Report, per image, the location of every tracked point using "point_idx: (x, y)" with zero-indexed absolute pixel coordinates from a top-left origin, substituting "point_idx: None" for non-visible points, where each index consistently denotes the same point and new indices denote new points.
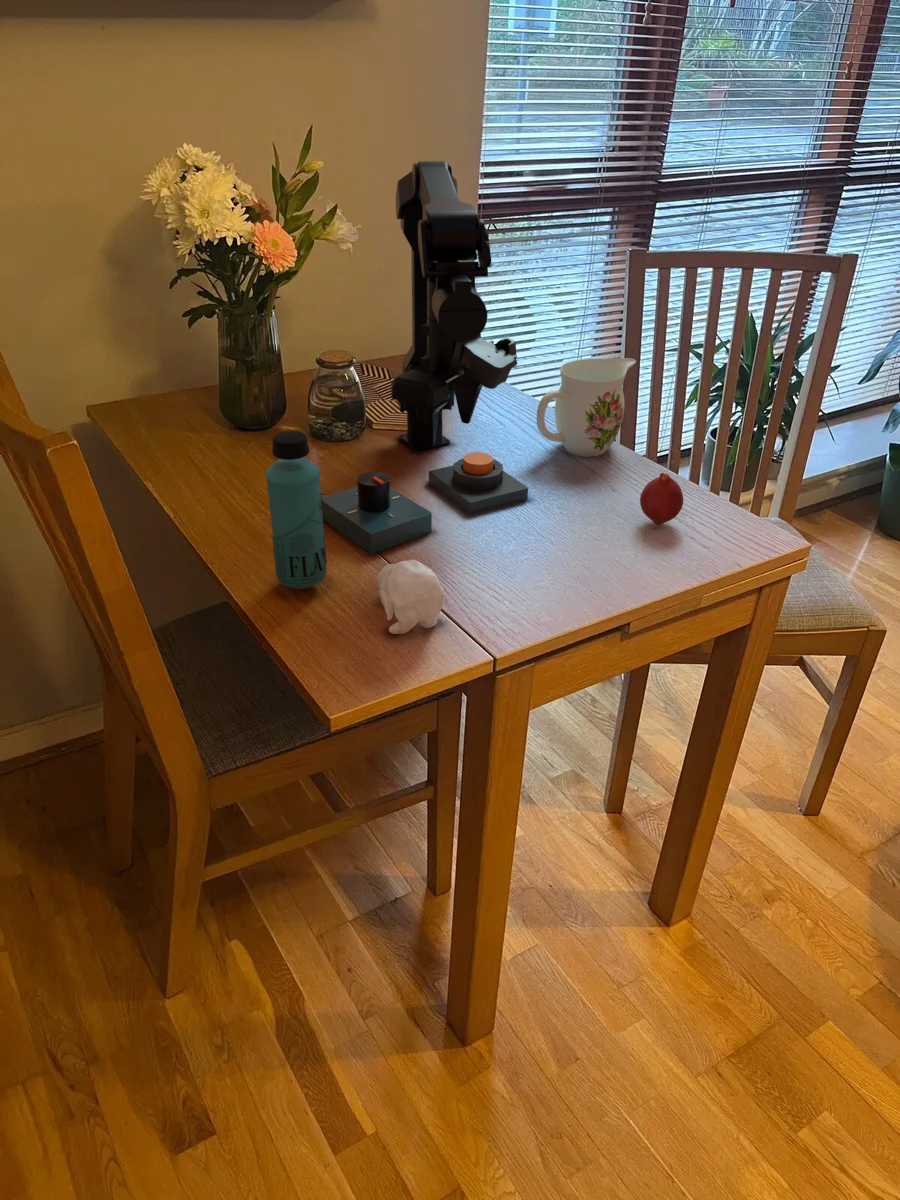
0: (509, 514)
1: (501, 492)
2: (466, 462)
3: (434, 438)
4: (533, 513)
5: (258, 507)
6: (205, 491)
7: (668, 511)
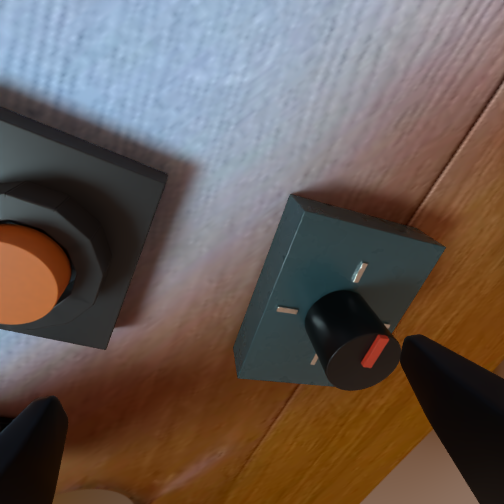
0: (80, 85)
1: (40, 147)
2: (59, 293)
3: (454, 360)
4: (9, 16)
5: (355, 420)
6: (348, 471)
7: None
